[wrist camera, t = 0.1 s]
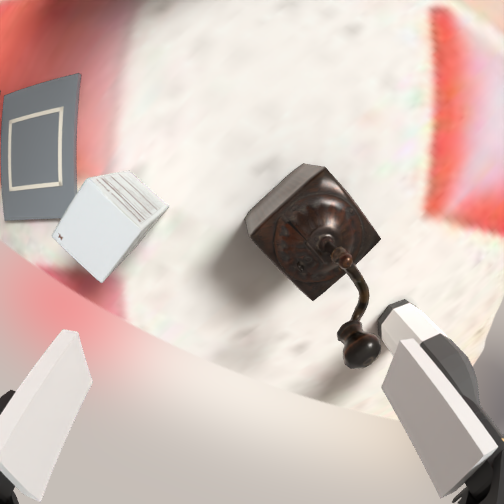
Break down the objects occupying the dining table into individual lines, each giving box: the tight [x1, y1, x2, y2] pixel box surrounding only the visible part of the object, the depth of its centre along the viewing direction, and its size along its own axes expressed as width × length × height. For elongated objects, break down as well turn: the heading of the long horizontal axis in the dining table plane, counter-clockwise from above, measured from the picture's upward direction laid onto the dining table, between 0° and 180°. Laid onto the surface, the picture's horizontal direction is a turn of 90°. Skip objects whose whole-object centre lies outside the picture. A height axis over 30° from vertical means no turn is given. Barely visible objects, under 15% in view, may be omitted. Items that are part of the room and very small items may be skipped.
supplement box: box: [52, 170, 169, 283], centre depth 30 cm, size 7×7×13 cm
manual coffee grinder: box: [245, 163, 381, 369], centre depth 30 cm, size 16×11×18 cm
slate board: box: [1, 73, 81, 221], centre depth 31 cm, size 20×15×1 cm
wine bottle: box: [378, 299, 504, 441], centre depth 30 cm, size 8×8×30 cm
